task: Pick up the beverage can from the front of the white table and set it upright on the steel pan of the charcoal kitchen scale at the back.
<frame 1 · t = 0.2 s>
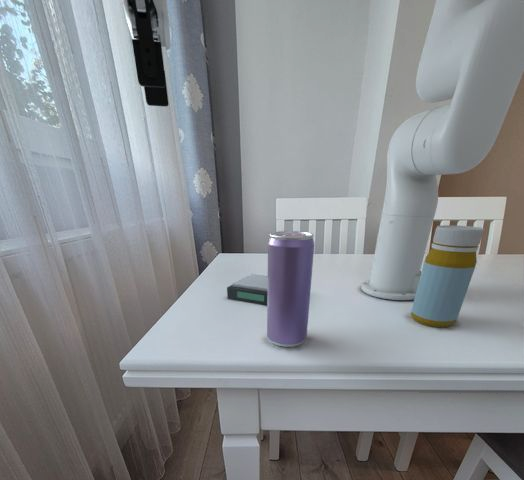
hand: (155, 96, 40), 31 cm above the table, tool pointing down, fingers open, 9 cm apart
bottle: (431, 321, 51), on the table
beverage can: (286, 340, 45), on the table
scale: (261, 295, 63), on the table
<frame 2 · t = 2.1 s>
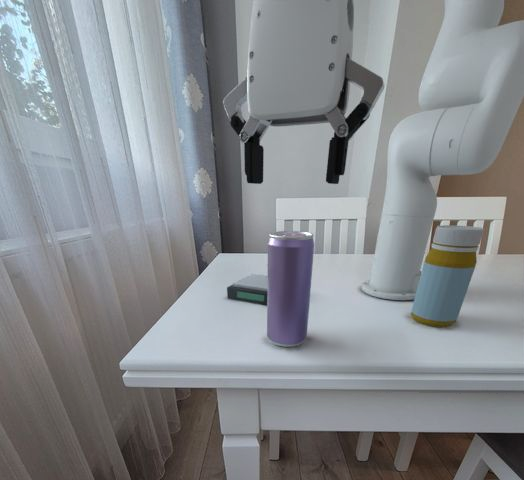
hand: (291, 183, 34), 21 cm above the table, tool pointing down, fingers open, 9 cm apart
nothing on the table moved.
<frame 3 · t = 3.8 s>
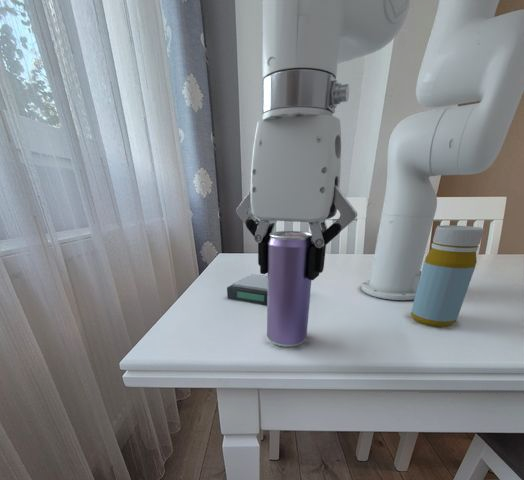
hand: (289, 273, 40), 10 cm above the table, tool pointing down, fingers closed on beverage can, 6 cm apart
beverage can: (286, 340, 45), on the table, touching gripper
everything else where it was.
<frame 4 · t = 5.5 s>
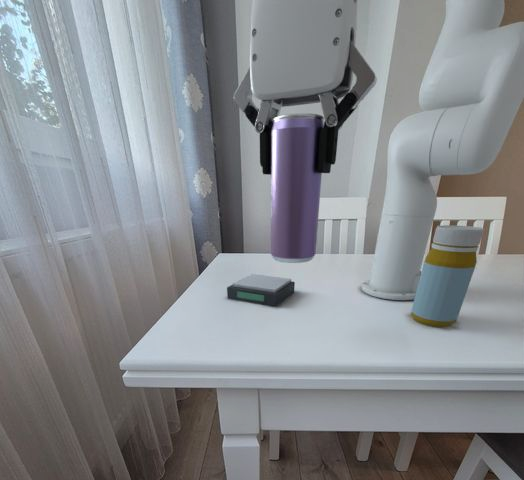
hand: (296, 171, 35), 22 cm above the table, tool pointing down, fingers closed on beverage can, 6 cm apart
beverage can: (292, 260, 40), point 12 cm above the table, touching gripper
everything else where it was.
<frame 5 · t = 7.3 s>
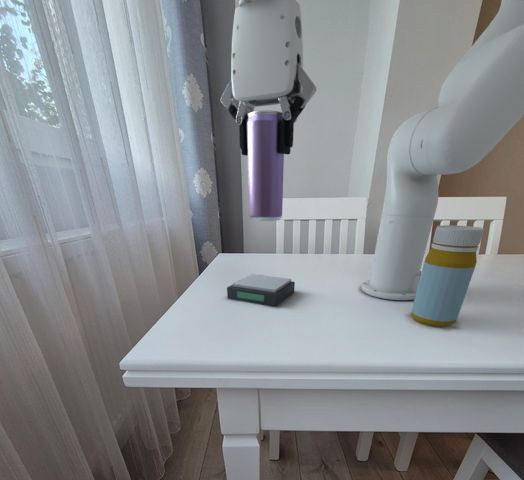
hand: (265, 153, 48), 25 cm above the table, tool pointing down, fingers closed on beverage can, 6 cm apart
beverage can: (265, 220, 53), point 15 cm above the table, touching gripper
everything else where it was.
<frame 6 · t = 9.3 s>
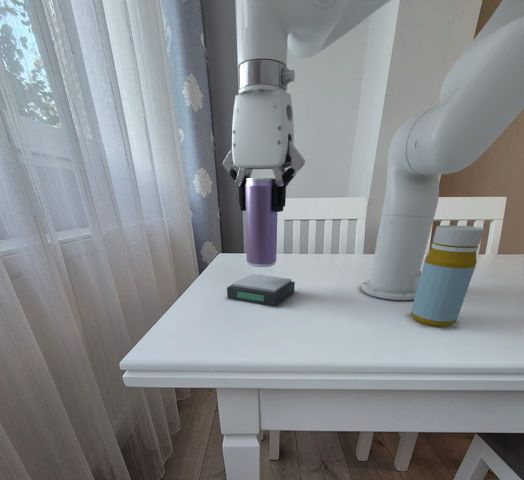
hand: (261, 209, 55), 17 cm above the table, tool pointing down, fingers closed on beverage can, 6 cm apart
beverage can: (261, 265, 60), point 6 cm above the table, touching gripper
everything else where it was.
when the fingers open (13 cm above the table, at t = 10.7 s): beverage can stays where it is, resting on scale.
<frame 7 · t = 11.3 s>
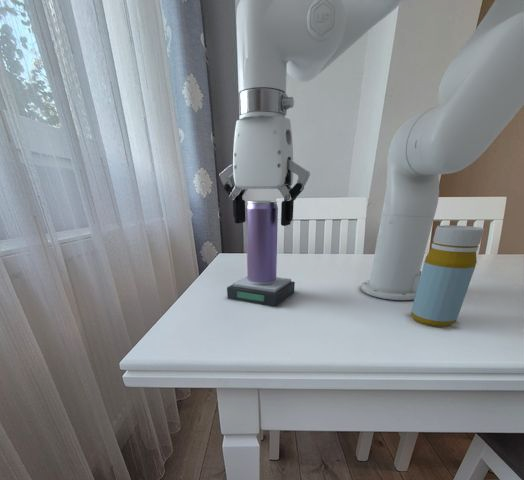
hand: (262, 223, 56), 14 cm above the table, tool pointing down, fingers open, 9 cm apart
beverage can: (261, 282, 61), point 3 cm above the table, touching scale
everything else where it was.
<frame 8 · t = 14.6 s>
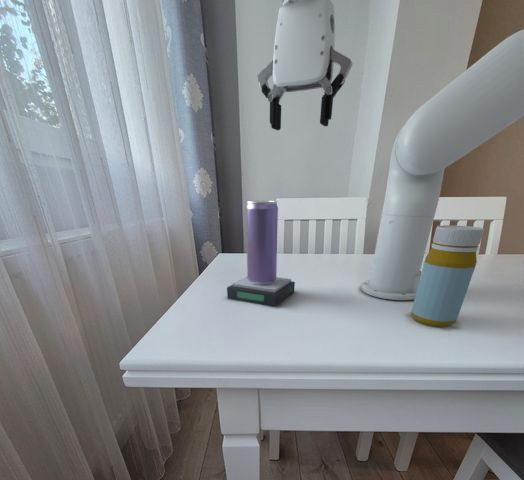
hand: (299, 127, 56), 30 cm above the table, tool pointing down, fingers open, 9 cm apart
nothing on the table moved.
at the end: beverage can inside the target area on the scale (0.4 cm from its centre), point 2.8 cm above the scale's base; beverage can tilted 0° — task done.
